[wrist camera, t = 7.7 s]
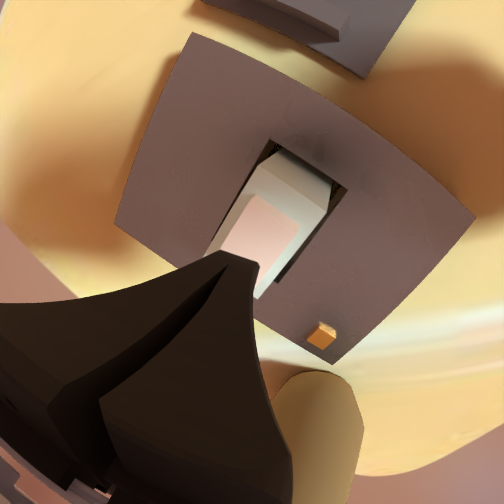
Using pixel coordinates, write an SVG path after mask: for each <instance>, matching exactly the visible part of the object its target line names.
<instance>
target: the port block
mask: <svg viewBox="0 0 504 504" xmlns="http://www.w3.org/2000/svg"><path fill="white" fill-rule="evenodd" d="M275 143H278V144H279V145H281V146H283V147H284V148H286V149H287V150H289V151H291V152H292V153H294V154H295V155H297V156H299V157H300V158H302V159H303V160H305V161H306V162H308V163H309V164H311V165H312V166H314V167H315V168H317V169H318V170H320V171H321V172H323V173H324V174H326V175H327V176H329V177H330V178H332V179H333V180H335V181H336V182H338V183H339V184H340V185H341V186H340V188H339V189H338V190H337V192H336V193H335V195H334V196H333V197H332V199H331V200H330V202H329V203H328V208H327V213H326V214H325V215H324V216H323V218H322V219H321V220H320V222H319V223H318V224H317V226H316V227H315V228H314V229H313V231H312V232H311V233H310V235H309V236H308V237H307V238H306V240H305V241H304V242H303V243H302V245H301V246H300V247H299V249H298V250H297V251H296V252H295V254H294V255H293V256H292V257H291V259H290V260H289V261H288V262H287V264H286V265H285V266H284V267H283V269H282V270H281V271H280V272H279V274H278V275H277V276H276V277H275V279H274V280H273V281H272V282H271V284H270V285H269V286H268V287H267V289H266V290H265V291H264V292H263V294H262V295H261V296H260V297H259V298H258V299H256V298H255V297H253V318H254V319H256V320H258V321H259V322H261V323H262V324H264V325H266V326H267V327H269V328H271V329H272V330H274V331H275V332H277V333H279V334H280V335H282V336H284V337H285V338H287V339H289V340H290V341H292V342H294V343H295V344H297V345H299V346H300V347H302V348H304V349H305V350H307V351H309V352H310V353H312V354H314V355H316V356H317V357H319V358H321V359H322V360H324V361H326V362H328V363H329V364H331V365H333V364H334V363H336V362H337V361H338V360H339V359H340V358H341V357H343V356H344V355H345V354H346V353H347V352H348V351H350V350H351V349H352V348H353V347H354V346H355V345H356V344H358V343H359V342H360V341H361V340H362V339H363V338H364V337H365V336H367V335H368V334H369V333H370V332H371V331H372V330H373V329H374V328H375V327H376V326H377V325H378V324H380V323H381V322H382V321H383V320H384V319H385V318H386V317H387V316H388V315H389V314H390V313H391V312H392V311H393V310H394V309H395V308H396V307H397V306H398V305H399V304H400V303H401V302H402V301H403V300H404V299H405V298H406V297H407V296H408V295H409V294H410V293H411V292H412V291H413V290H414V289H415V288H416V287H417V286H418V285H419V284H420V283H421V282H422V280H423V279H424V278H425V277H426V276H427V275H428V274H429V273H430V272H431V271H432V270H433V269H434V267H435V266H436V265H437V264H438V263H439V262H440V261H441V260H442V258H443V257H444V256H445V255H446V254H447V253H448V252H449V250H450V249H451V248H452V247H453V246H454V245H455V243H456V242H457V241H458V240H459V239H460V237H461V236H462V235H463V234H464V233H465V231H466V230H467V229H468V228H469V226H470V225H471V224H472V223H473V221H474V220H475V219H476V217H475V216H474V215H473V214H472V213H471V212H470V211H469V210H468V209H467V208H466V207H465V206H464V205H463V204H462V203H461V202H460V201H459V200H458V199H457V198H455V197H454V196H453V195H452V194H451V193H450V192H449V191H448V190H447V189H446V188H445V187H444V186H442V185H441V184H440V183H439V182H438V181H437V180H436V179H435V178H433V177H432V176H431V175H430V174H429V173H428V172H426V171H425V170H424V169H423V168H422V167H420V166H419V165H418V164H417V163H416V162H414V161H413V160H412V159H411V158H410V157H408V156H407V155H406V154H404V153H403V152H402V151H401V150H399V149H398V148H397V147H396V146H394V145H393V144H392V143H390V142H389V141H388V140H386V139H385V138H384V137H382V136H381V135H380V134H378V133H377V132H375V131H374V130H373V129H371V128H370V127H368V126H367V125H366V124H364V123H363V122H361V121H360V120H358V119H357V118H355V117H354V116H353V115H351V114H350V113H348V112H347V111H345V110H343V109H342V108H340V107H339V106H337V105H336V104H334V103H333V102H331V101H329V100H328V99H326V98H325V97H323V96H321V95H320V94H318V93H316V92H315V91H313V90H311V89H310V88H308V87H306V86H304V85H303V84H301V83H299V82H298V81H296V80H294V79H292V78H290V77H289V76H287V75H285V74H283V73H281V72H279V71H277V70H276V69H274V68H272V67H270V66H268V65H266V64H264V63H262V62H260V61H258V60H256V59H254V58H252V57H250V56H248V55H245V54H243V53H241V52H239V51H237V50H235V49H232V48H230V47H228V46H226V45H223V44H221V43H219V42H216V41H214V40H212V39H209V38H207V37H204V36H202V35H199V34H197V33H194V32H192V33H191V35H190V37H189V38H188V40H187V42H186V44H185V46H184V48H183V50H182V52H181V54H180V56H179V58H178V60H177V62H176V64H175V66H174V68H173V70H172V72H171V74H170V76H169V78H168V80H167V82H166V85H165V87H164V89H163V91H162V93H161V96H160V98H159V100H158V102H157V105H156V107H155V109H154V112H153V114H152V117H151V119H150V121H149V124H148V126H147V129H146V131H145V134H144V136H143V139H142V142H141V144H140V147H139V149H138V152H137V155H136V158H135V160H134V163H133V166H132V169H131V172H130V175H129V177H128V180H127V183H126V186H125V189H124V193H123V196H122V199H121V202H120V205H119V209H118V212H117V215H116V219H115V222H114V224H115V225H117V226H118V227H119V228H121V229H122V230H123V231H125V232H126V233H128V234H129V235H130V236H132V237H133V238H135V239H136V240H137V241H139V242H140V243H142V244H143V245H145V246H146V247H147V248H149V249H150V250H152V251H153V252H154V253H156V254H157V255H159V256H160V257H162V258H163V259H165V260H166V261H168V262H169V263H170V264H172V265H173V266H175V267H176V268H178V269H179V268H181V267H184V266H186V265H188V264H190V263H192V262H195V261H197V260H199V259H201V258H203V256H204V254H205V253H206V251H207V249H208V248H209V246H210V244H211V242H212V241H213V239H214V237H215V236H216V234H217V232H218V231H219V229H220V227H221V225H222V224H223V222H224V220H225V219H226V217H227V215H228V214H229V212H230V210H231V209H232V207H233V205H234V204H235V202H236V201H237V199H238V197H239V196H240V194H241V192H242V191H243V189H244V187H245V186H246V184H247V183H248V181H249V179H250V178H251V176H252V174H253V173H254V171H255V170H256V168H257V166H258V165H259V164H261V163H262V162H263V161H265V160H266V158H267V157H268V155H269V153H270V152H271V150H272V148H273V147H274V145H275Z"/></svg>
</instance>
